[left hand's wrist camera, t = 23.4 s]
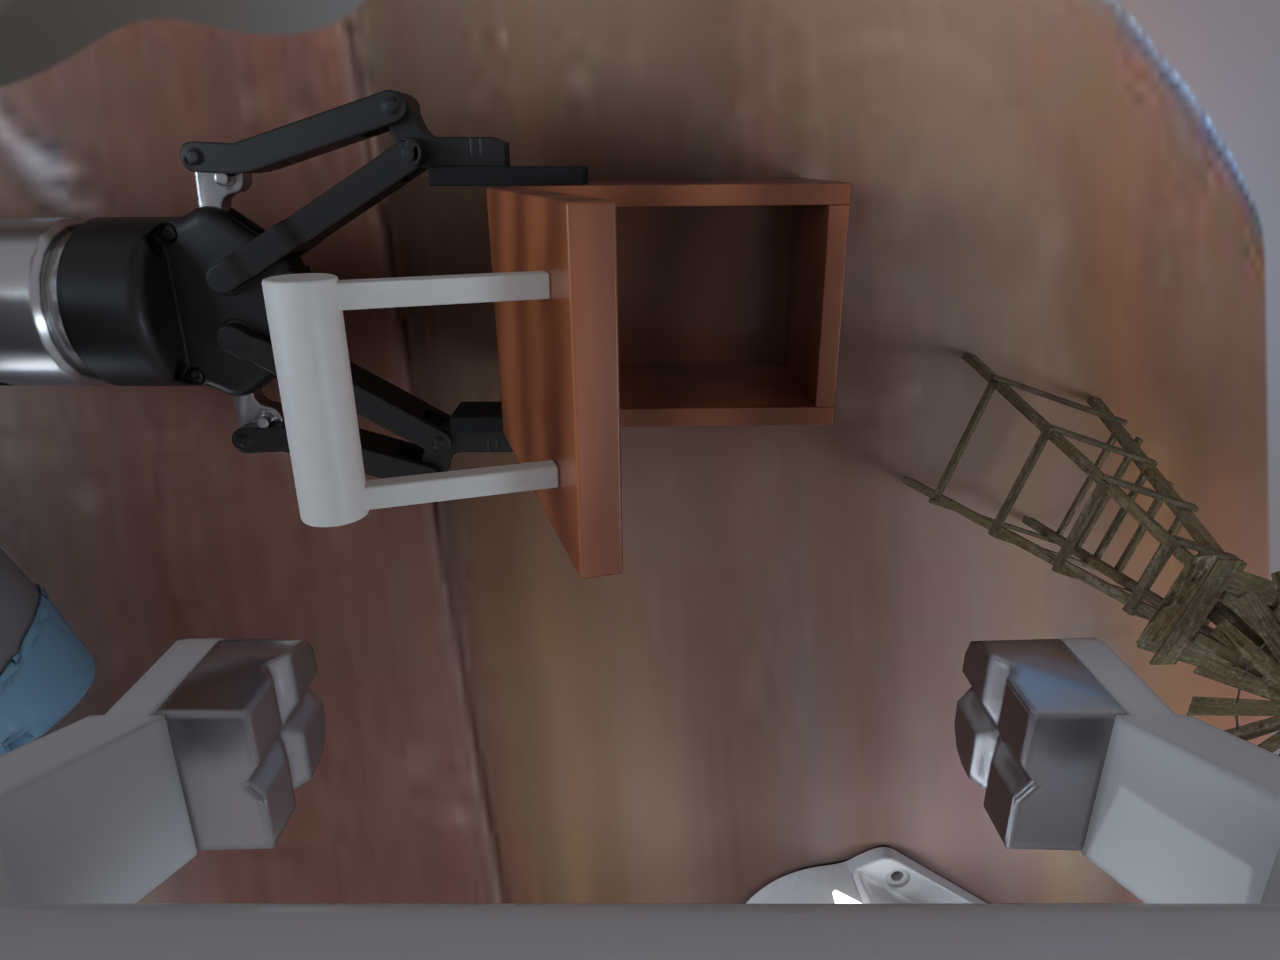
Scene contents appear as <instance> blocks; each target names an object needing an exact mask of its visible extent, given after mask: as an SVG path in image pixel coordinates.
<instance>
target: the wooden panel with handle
mask: <svg viewBox="0 0 1280 960" xmlns="http://www.w3.org/2000/svg"><path fill="white" fill-rule="evenodd" d="M486 191H487V205H488V219H489V234H490V248H491V262H492V273H480V274H458V275H436V276H415V277H393V278H371V279H349V280H339V279H338V277H337V276H336V275H333V274H327V273H299V274H286V275H277V276H271V277H267V278H265V279H263V280H262V289H263V295H264V301H265V307H266V313H267V319H268V325H269V331H270V337H271V343H272V349H273V355H274V361H275V367H276V373H277V379H278V385H279V391H280V397H281V403H282V409H283V415H284V421H285V427H286V433H287V439H288V445H289V451H290V457H291V463H292V469H293V475H294V480H295V486H296V492H297V498H298V504H299V510H300V516H301V520H302V521H303V522H304V523H305V524H307V525H310V526H314V527H336V526H342V525H346V524H350V523H353V522H356V521H358V520H360V519H362V518H363V517H365V516H366V515H367V514H368V512H369V510H371V509H380V508H388V507H396V506H405V505H413V504H422V503H430V502H439V501H447V500H455V499H464V498H472V497H481V496H489V495H498V494H506V493H514V492H523V491H531V490H534V491H535V493H536V495H537V497H538V498H539V500H540V502H541V504H542V506H543V508H544V510H545V512H546V514H547V515H548V517H549V519H550V521H551V523H552V525H553V527H554V529H555V531H556V532H557V534H558V536H559V538H560V540H561V542H562V544H563V546H564V548H565V549H566V551H567V553H568V555H569V557H570V559H571V561H572V563H573V565H574V566H575V568H576V570H577V572H578V574H579V576H580V578H581V579H587V578H594V577H600V576H607V575H614V574H620V573H622V572H623V548H622V495H621V442H620V389H619V335H618V282H617V229H616V203H615V201H613V200H606V199H599V198H592V197H585V196H578V195H571V194H564V193H557V192H550V191H543V190H536V189H529V188H522V187H488V188H487V189H486ZM484 302H494V304H495V318H496V333H497V347H498V361H499V375H500V389H501V403H502V418H503V432H504V434H505V436H506V438H507V440H508V442H509V444H510V446H511V447H512V449H513V451H514V453H515V455H516V457H517V459H518V461H519V463H520V464H511V465H501V466H492V467H483V468H474V469H465V470H456V471H446V472H437V473H428V474H419V475H410V476H401V477H392V478H382V479H373V480H366V479H365V472H364V464H363V457H362V450H361V442H360V435H359V427H358V420H357V412H356V405H355V398H354V390H353V383H352V375H351V368H350V361H349V353H348V346H347V338H346V331H345V323H344V316H343V310H358V309H376V308H394V307H412V306H430V305H448V304H466V303H484Z"/></svg>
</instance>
